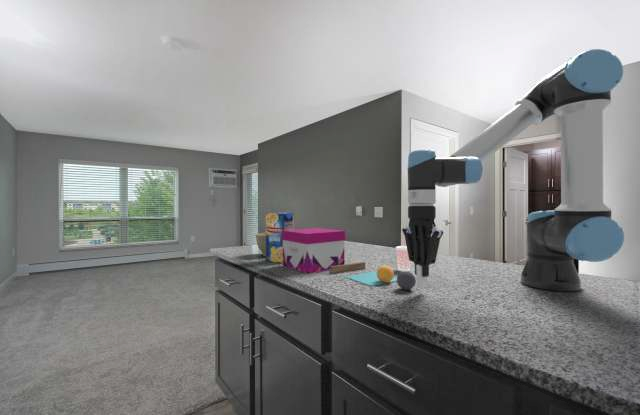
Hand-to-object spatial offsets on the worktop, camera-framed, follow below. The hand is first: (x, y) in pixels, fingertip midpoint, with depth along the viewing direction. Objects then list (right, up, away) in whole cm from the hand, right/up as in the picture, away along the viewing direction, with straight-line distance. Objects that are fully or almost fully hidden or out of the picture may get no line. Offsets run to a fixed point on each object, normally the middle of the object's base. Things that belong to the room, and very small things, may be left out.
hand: (421, 287), depth 88 cm
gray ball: (-3, +1, +4) cm, 6 cm away
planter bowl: (-54, -2, +68) cm, 87 cm away
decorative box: (-32, -2, +40) cm, 51 cm away
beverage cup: (+3, -2, +31) cm, 31 cm away
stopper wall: (-18, -2, +31) cm, 36 cm away
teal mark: (-11, -2, +18) cm, 21 cm away
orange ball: (-8, +1, +13) cm, 15 cm away
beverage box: (-48, -2, +52) cm, 70 cm away
